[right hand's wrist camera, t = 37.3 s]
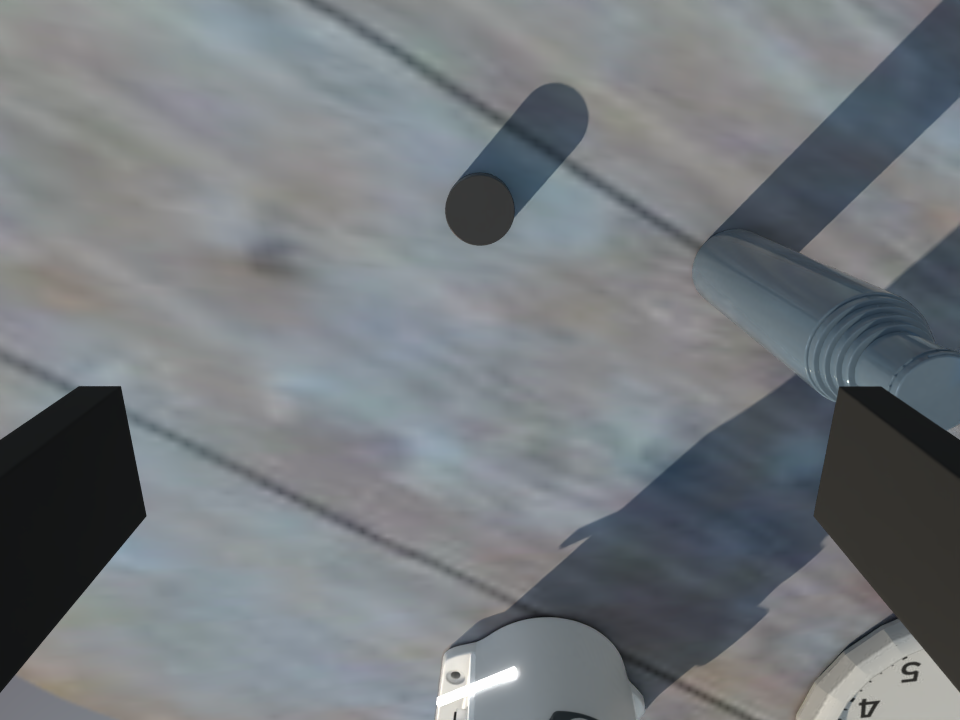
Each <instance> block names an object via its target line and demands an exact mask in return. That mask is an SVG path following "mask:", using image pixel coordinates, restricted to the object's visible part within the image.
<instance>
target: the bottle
mask: <svg viewBox="0 0 960 720" xmlns="http://www.w3.org/2000/svg"><path fill="white" fill-rule="evenodd" d="M692 276H693V282H694V285H695V287H696V289H697V291H698V292H699V294H700V295H701V296H702V297H703V298H704V299H705V300H707V301H708V302H709V303H710V304H711V305H713V306H714V307H715V308H716V309H718V310H719V311H720V312H721V313H722V314H724V315H725V316H726V317H727V318H728V319H730V320H731V321H732V322H733V323H734V324H736V325H737V326H738V327H739V328H741V329H742V330H743V331H744V332H745V333H747V334H748V335H749V336H750V337H751V338H753V339H754V340H755V341H756V342H757V343H759V344H760V345H761V346H762V347H764V348H765V349H766V350H767V351H768V352H770V353H771V354H772V355H773V356H774V357H776V358H777V359H778V360H779V361H780V362H782V363H783V364H784V365H785V366H787V367H788V368H789V369H790V370H791V371H793V372H794V373H795V374H796V375H797V376H799V377H800V378H801V379H802V380H803V381H805V382H806V383H807V384H808V385H809V386H811V387H812V388H813V389H814V390H816V391H817V392H818V393H819V394H820V395H822V396H823V397H825V398H827V399H829V400H831V401H833V402H836V400H837V395H838V390H839V386H881V387H883V388H884V389H886V390H887V391H889V392H890V393H892V394H893V395H894V396H896V397H897V398H899V399H900V400H902V401H903V402H905V403H906V404H908V405H909V406H911V407H912V408H914V409H915V410H917V411H918V412H919V413H921V414H922V415H924V416H925V417H927V418H928V419H930V420H931V421H933V422H934V423H936V424H937V425H939V426H940V427H941V428H943V429H944V430H946V431H947V430H949V429H951V428H953V427H955V426H957V425H958V424H960V353H959V352H957V351H954V350H950V349H947V348H943V347H941V346H939V345H937V344H935V341H934V338H933V336H932V333H931V331H930V329H929V326H928V324H927V322H926V320H925V318H924V317H923V315H922V314H921V313H920V312H919V311H918V310H917V309H916V308H915V307H914V306H913V305H912V304H911V303H909V302H908V301H907V300H905V299H903V298H901V297H900V296H897V295H895V294H893V293H890V292H888V291H886V290H884V289H881V288H879V287H877V286H874V285H872V284H870V283H868V282H865V281H863V280H861V279H858V278H856V277H854V276H852V275H849V274H847V273H845V272H842V271H840V270H838V269H835V268H833V267H831V266H829V265H826V264H824V263H822V262H819V261H817V260H815V259H813V258H810V257H808V256H806V255H803V254H801V253H799V252H797V251H794V250H792V249H790V248H787V247H785V246H783V245H781V244H778V243H776V242H774V241H771V240H769V239H767V238H765V237H762V236H760V235H758V234H755V233H753V232H751V231H748V230H743V229H730V230H726V231H723V232H720V233H718V234H716V235H714V236H713V237H711V238H710V239H709V240H707V241H706V242H705V243H704V244H703V246H702V247H701V248H700V250H699V251H698V253H697V255H696V257H695V260H694V263H693V269H692Z"/></svg>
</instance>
